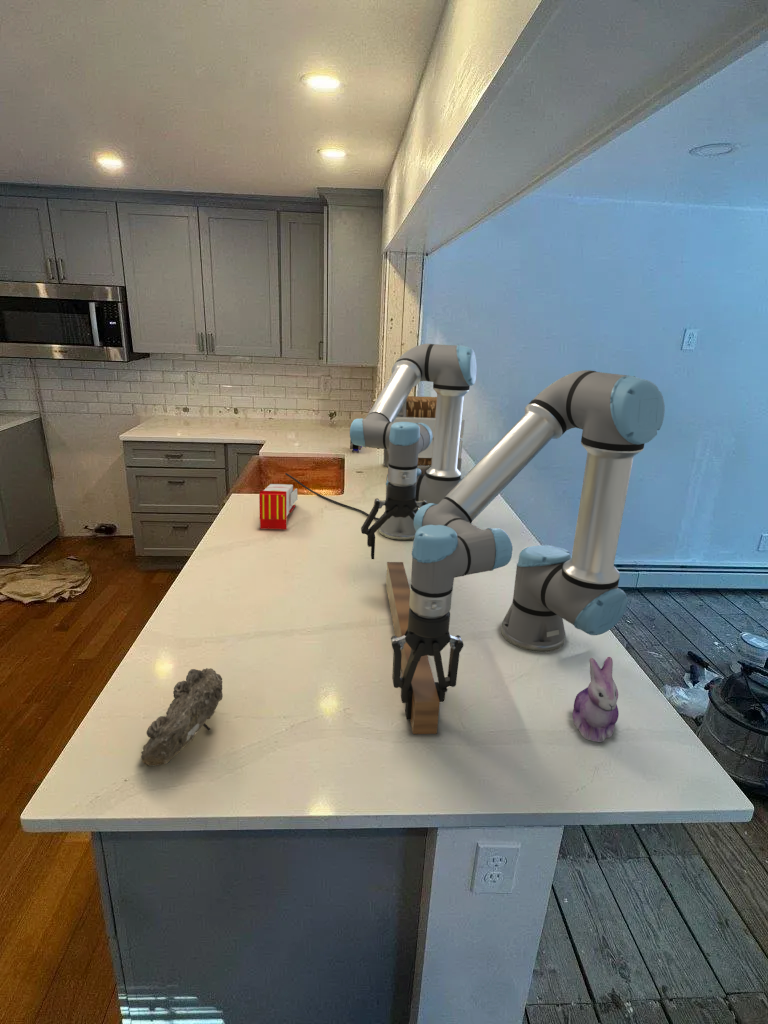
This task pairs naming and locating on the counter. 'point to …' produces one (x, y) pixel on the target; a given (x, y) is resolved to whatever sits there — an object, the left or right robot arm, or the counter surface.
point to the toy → (276, 505)
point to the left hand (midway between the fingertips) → (397, 557)
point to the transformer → (423, 413)
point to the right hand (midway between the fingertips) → (421, 714)
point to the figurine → (597, 703)
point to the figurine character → (354, 447)
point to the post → (423, 681)
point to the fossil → (183, 716)
